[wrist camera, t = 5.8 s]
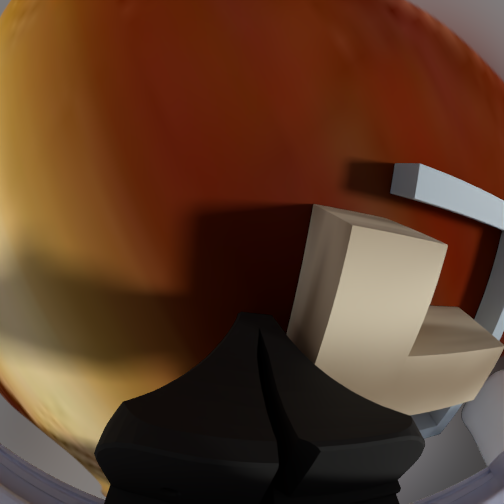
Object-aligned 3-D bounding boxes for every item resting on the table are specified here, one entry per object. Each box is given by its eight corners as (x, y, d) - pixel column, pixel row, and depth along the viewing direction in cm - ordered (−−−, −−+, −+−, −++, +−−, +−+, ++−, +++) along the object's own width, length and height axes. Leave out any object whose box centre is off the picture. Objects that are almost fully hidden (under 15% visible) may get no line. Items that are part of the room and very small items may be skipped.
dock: (429, 417, 14) (440, 434, 12) (310, 431, 13) (315, 455, 11) (515, 213, 10) (537, 220, 8) (394, 163, 9) (420, 163, 7)
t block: (411, 400, 13) (438, 446, 9) (267, 406, 12) (271, 471, 9) (478, 241, 10) (534, 267, 6) (313, 203, 10) (352, 225, 6)
